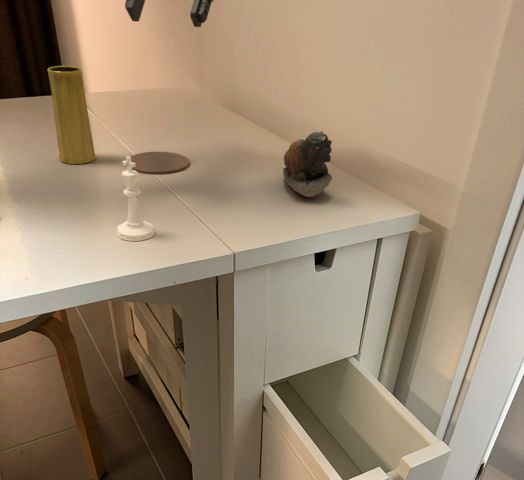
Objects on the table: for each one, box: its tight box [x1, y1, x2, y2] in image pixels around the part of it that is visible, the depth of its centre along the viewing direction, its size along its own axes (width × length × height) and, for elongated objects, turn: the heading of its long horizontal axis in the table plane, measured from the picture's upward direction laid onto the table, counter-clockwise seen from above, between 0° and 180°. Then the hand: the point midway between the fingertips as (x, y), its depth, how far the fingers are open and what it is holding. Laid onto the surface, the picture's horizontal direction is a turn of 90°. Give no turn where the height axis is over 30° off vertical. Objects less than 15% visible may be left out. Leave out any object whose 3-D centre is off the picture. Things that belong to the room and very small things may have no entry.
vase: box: [47, 65, 97, 165], centre depth 92 cm, size 6×6×14 cm
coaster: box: [125, 151, 190, 175], centre depth 96 cm, size 11×11×1 cm
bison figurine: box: [282, 130, 333, 198], centre depth 86 cm, size 12×7×10 cm, turn 14°
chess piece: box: [116, 155, 156, 242], centre depth 70 cm, size 5×5×10 cm
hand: (163, 19), depth 69 cm, fingers open, 8 cm apart
